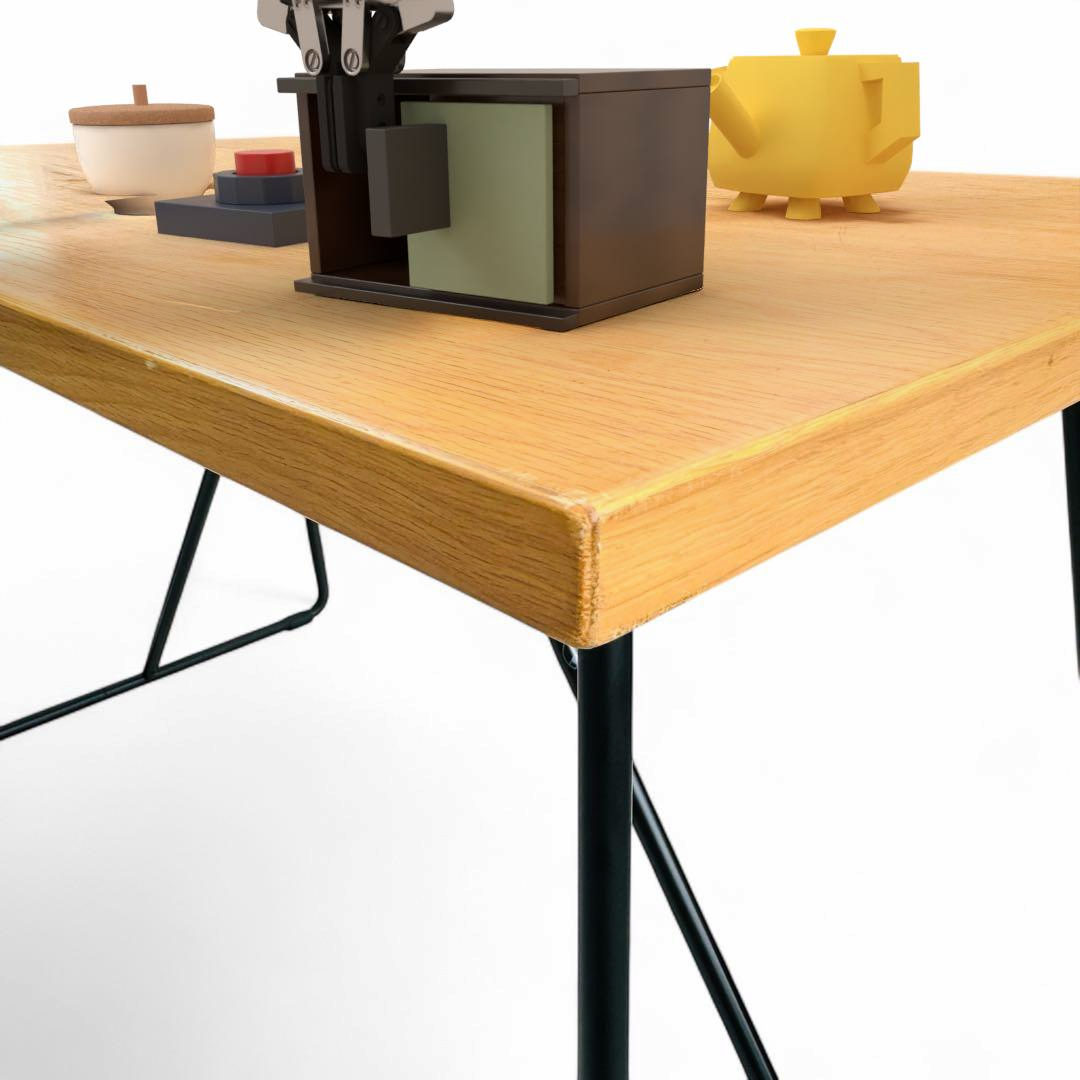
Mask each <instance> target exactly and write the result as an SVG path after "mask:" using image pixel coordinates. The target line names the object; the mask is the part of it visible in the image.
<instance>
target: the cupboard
mask: <svg viewBox="0 0 1080 1080" xmlns="http://www.w3.org/2000/svg"><path fill="white" fill-rule="evenodd" d="M711 69H712V68H710V67H686V68H685V67H679V68H677V67H671V68H670V67H669V68H668V67H667V68H666V67H665V68H663V67H662V68H661V67H659V68H658V67H654V68H653V67H652V68H651V67H648V68H647V67H646V68H644V67H643V68H640V67H639V68H638V67H635V68H631V67H630V68H629V67H624V68H623V67H622V68H619V67H618V68H617V67H616V68H615V67H614V68H613V67H611V68H610V67H608V68H602V67H599V68H597V67H595V68H594V67H593V68H589V67H587V68H585V67H583V68H580V67H579V68H573V67H572V68H570V67H569V68H567V67H563V68H558V67H556V68H553V67H551V68H550V67H549V68H544V67H543V68H538V67H537V68H530V67H529V68H416V69H415V68H414V69H413V68H411V69H403V70H402V72H401V73H399V74H393V79H394V98H395V117H396V126H401V125H402V118H401V102H404V101H425V102H478V103H530V104H552V143H553V287H554V302H553V303H551V304H547V305H543V304H536V303H528V302H521V301H513V300H506V299H498V298H491V297H484V296H476V295H469V294H461V293H454V292H446V291H439V290H431V289H424V288H417V287H411V286H410V274H409V255H408V235H403V236H398V237H392V238H390V237H380V236H373V235H372V228H371V212H370V195H369V179H368V172H360V173H346V172H343V171H342V172H330V171H326V170H325V169H324V167H323V164H322V152H321V139H320V126H319V113H318V100H317V87H316V76H318V75H310V74H308V72H307V71H306V72H295V73H294V76H290V77H289V76H287V77H277V78H276V91H277V93H278V94H295V96H296V109H297V110H296V111H297V121H298V133H299V145H300V158H301V168H302V171H303V184H304V196H305V208H306V220H307V233H308V242H307V243H308V256H309V257H308V258H309V268H310V276H309V277H303V278H300V279H295V280H294V281H293V285H294V286H293V288H294V292H296V293H302V294H309V295H315V296H319V297H320V296H321V297H328V298H333V297H334V299H340V298H342V299H341V300H347V299H348V301H355V300H356V301H355V302H360V301H362V303H367V302H369V303H368V304H374V303H377V304H376V305H381V304H383V305H382V306H387V305H388V307H394V306H395V308H401V309H407V308H408V309H409V310H414V311H415V310H416V311H421V312H429V313H434V314H435V313H436V314H442V315H448V316H454V317H455V316H456V317H462V318H468V319H476V320H483V321H489V322H495V323H496V322H497V323H502V324H508V325H509V324H510V325H516V326H523V327H530V328H536V329H543V330H549V331H557V332H566V331H569V330H573V329H575V328H577V327H582V326H585V325H589V324H591V323H595V322H597V321H601V320H605V319H607V318H610V317H615V316H617V315H620V314H624V313H627V312H630V311H635V310H637V309H640V308H643V307H647V306H650V305H653V304H656V303H660V302H663V301H667V300H669V299H673V298H676V297H679V295H680V296H682V294H683V295H686V294H688V293H687V292H689V293H692V292H691V291H693V290H696V291H698V290H697V289H699V290H701V289H700V288H702V287H704V270H705V269H704V268H705V247H706V246H705V245H706V244H705V242H706V215H707V194H708V192H707V191H708V171H709V170H708V144H709V131H710V120H711V119H710V93H711V87H710V85H711ZM702 289H703V288H702ZM693 292H694V291H693ZM685 293H686V294H685Z"/></svg>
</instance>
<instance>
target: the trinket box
mask: <svg viewBox="0 0 1080 1080" xmlns="http://www.w3.org/2000/svg"><path fill="white" fill-rule="evenodd" d="M131 88H132V89H131V90H132V95H133V103H122V104H121V103H119V104H118V103H117V104H101V105H89V106H86V105H85V106H80V107H73V108H70V109H69V110H68V120H69V123H70V124H71V129H72V134H73V141H74V145H75V151H76V155H77V158H78V162H79V166H80V168H81V170H82V174H83V176H84V177H85V179H86V181H87V182H88V185H89V187H91V189H92V190H93V192H94V193H96V194H98V195H99V194H100V195H107V196H134V197H125V198H117V199H109V200H108V199H107V200H104V203H106V204H107V205H108V206H110V207H112V209H113V211H114V215H115V214H116V215H119V216H137V217H138V216H140V217H141V216H156V213H155V205H154V202H155V201H161V200H169V199H178V198H186V197H194V196H203V195H205V193H206V192H207V190H208V188H209V186H210V184H211V183H212V180H213V173H215V167H216V159H217V158H216V156H217V150H216V149H217V142H216V128H215V121H214V120H215V119H216V115H215V114H216V113H215V108H214V106H212V105H210V104H200V103H180V102H179V103H177V102H176V103H173V102H172V103H171V102H169V103H167V102H166V103H164V102H163V103H161V102H159V103H157V102H156V103H155V102H154V103H153V102H152V103H149V98H148V91H147V90H148V89H147V84H131Z"/></svg>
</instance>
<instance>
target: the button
mask: <svg viewBox="0 0 1080 1080" xmlns="http://www.w3.org/2000/svg"><path fill="white" fill-rule="evenodd" d="M233 156H234V166H235V167H234V168H235V169H236V175H280V174H291V173H296V168H297V167H296V156H295V151H294V150H293V149H283V148H282V149H280V148H278V149H277V148H276V149H275V148H274V149H273V148H268V149H246V150H238V151H234V153H233Z"/></svg>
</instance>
